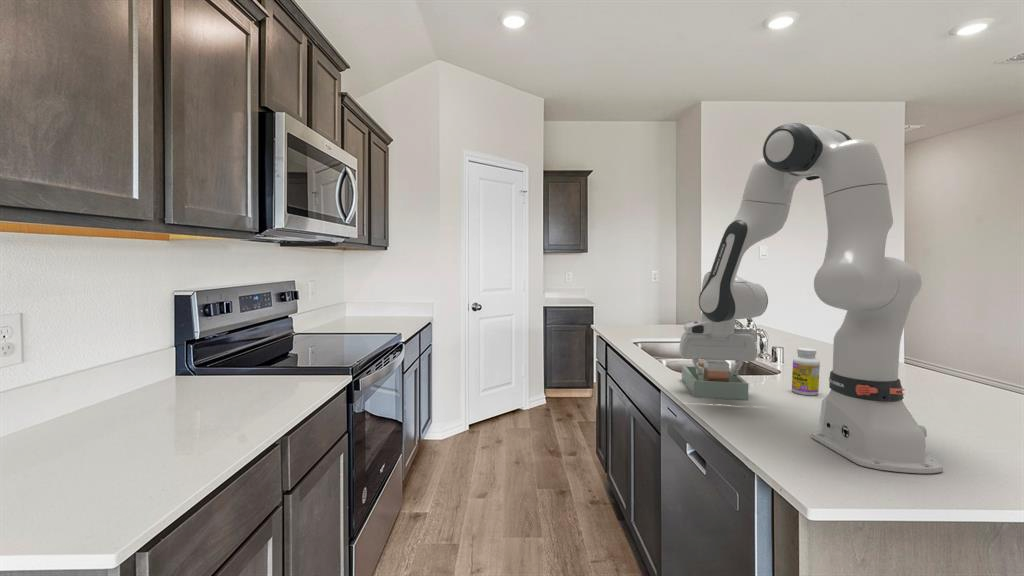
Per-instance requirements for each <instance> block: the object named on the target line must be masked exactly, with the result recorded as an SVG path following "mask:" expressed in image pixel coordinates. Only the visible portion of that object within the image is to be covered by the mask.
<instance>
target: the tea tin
mask: <svg viewBox="0 0 1024 576" xmlns="http://www.w3.org/2000/svg"><path fill="white" fill-rule="evenodd" d="M703 360H704V359H703ZM729 368H730V363H729V362H728V361H727V360H704V378H703V379H704V381H718V382H729Z"/></svg>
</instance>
